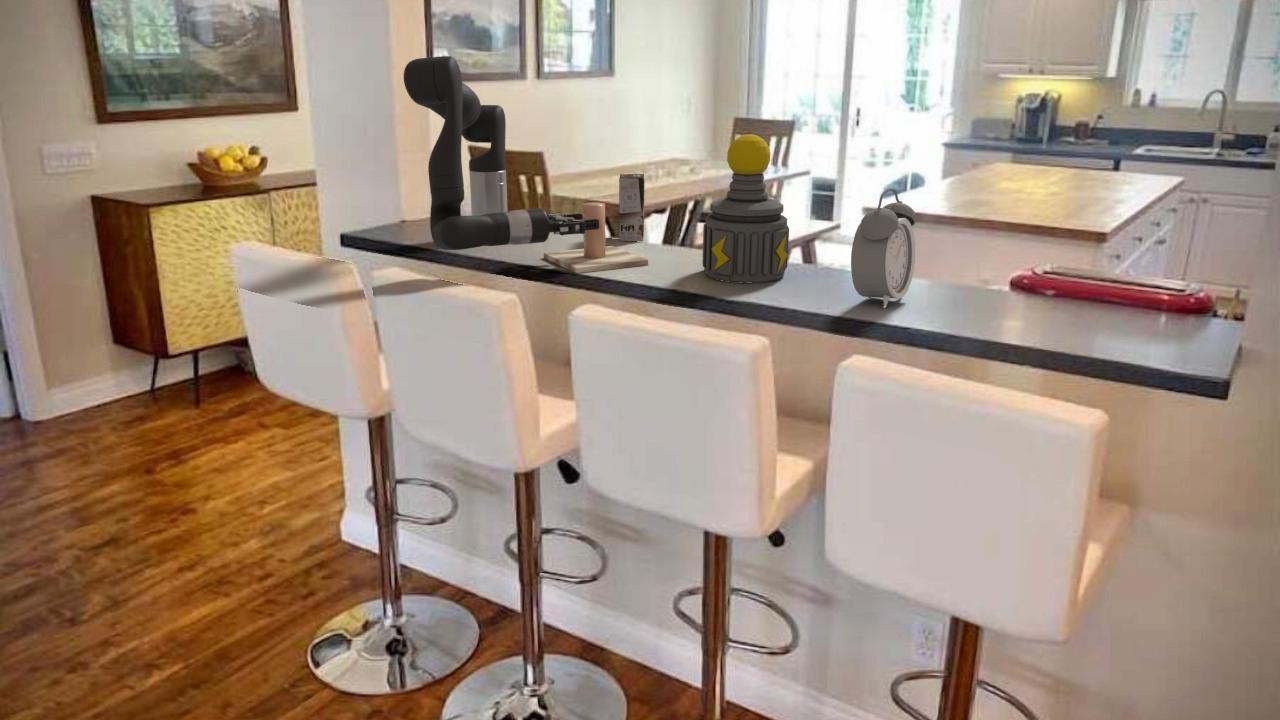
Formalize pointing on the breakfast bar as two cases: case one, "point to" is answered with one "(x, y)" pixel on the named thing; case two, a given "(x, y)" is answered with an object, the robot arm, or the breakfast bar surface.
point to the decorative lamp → (746, 221)
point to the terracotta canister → (594, 231)
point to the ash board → (595, 260)
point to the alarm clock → (884, 251)
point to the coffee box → (631, 207)
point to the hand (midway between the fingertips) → (589, 221)
